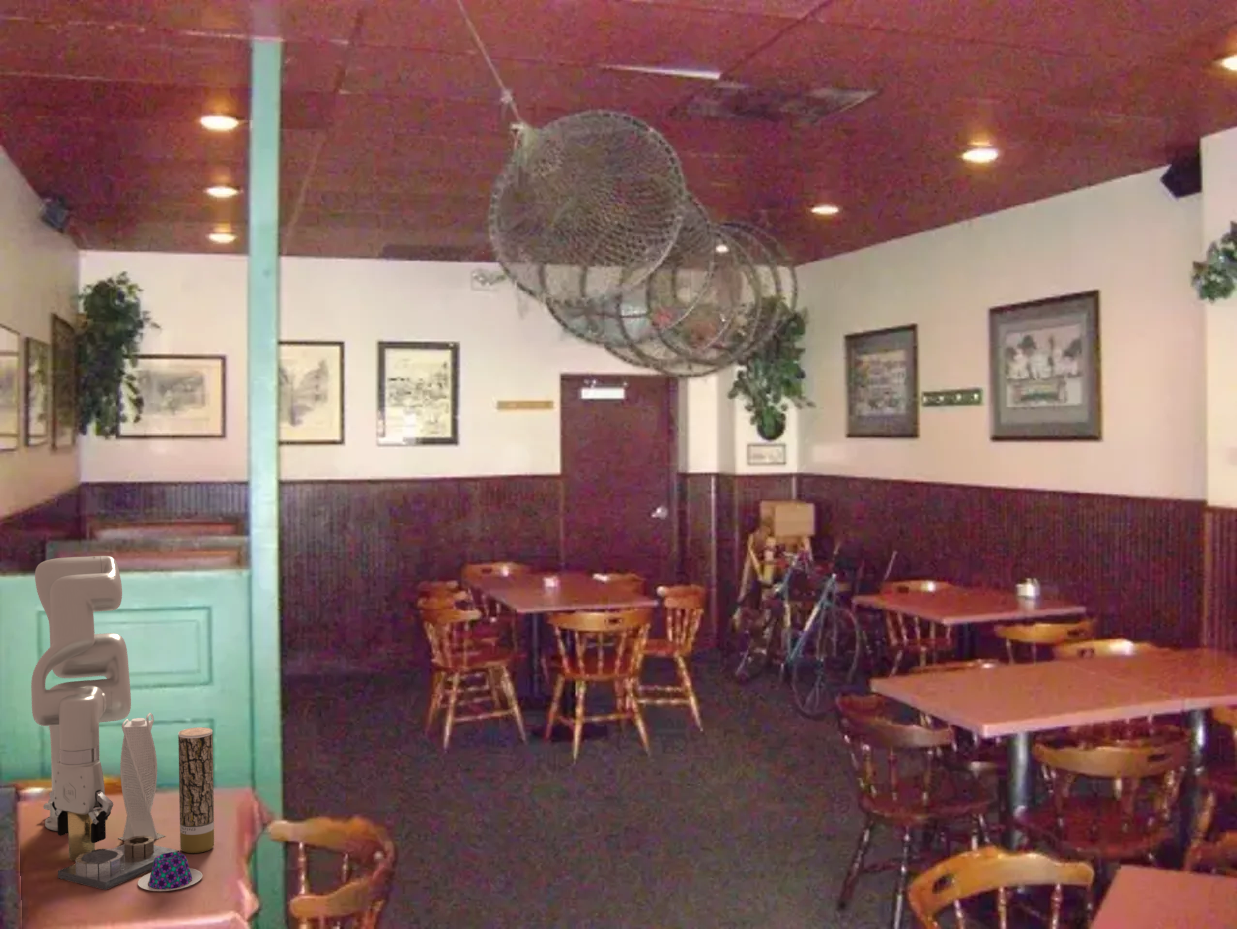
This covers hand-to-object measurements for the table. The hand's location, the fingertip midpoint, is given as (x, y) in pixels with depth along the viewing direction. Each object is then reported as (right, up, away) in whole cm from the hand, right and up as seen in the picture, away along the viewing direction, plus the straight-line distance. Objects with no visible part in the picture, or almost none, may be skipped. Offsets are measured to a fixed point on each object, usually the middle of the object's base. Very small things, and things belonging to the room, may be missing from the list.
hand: (81, 837), depth 263 cm
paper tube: (+22, -4, +5) cm, 23 cm away
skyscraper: (+8, -4, +11) cm, 14 cm away
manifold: (+10, -4, -6) cm, 12 cm away
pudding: (+23, -5, -13) cm, 26 cm away
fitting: (0, -4, +1) cm, 4 cm away
